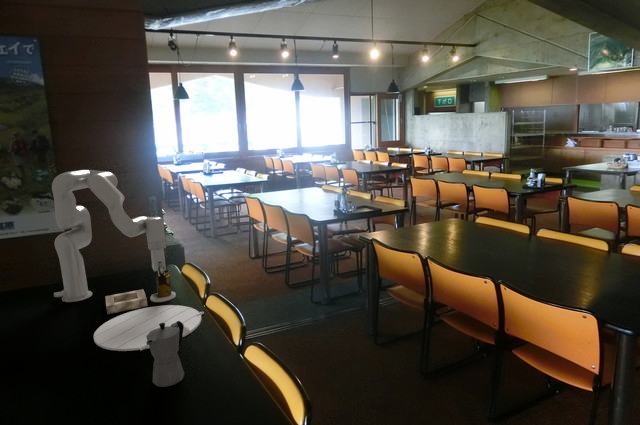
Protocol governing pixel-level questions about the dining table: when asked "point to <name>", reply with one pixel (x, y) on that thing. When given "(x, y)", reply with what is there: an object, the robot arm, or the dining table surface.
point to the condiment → (163, 287)
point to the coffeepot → (166, 354)
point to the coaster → (163, 298)
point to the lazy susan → (143, 326)
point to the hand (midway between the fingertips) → (161, 281)
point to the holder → (126, 301)
